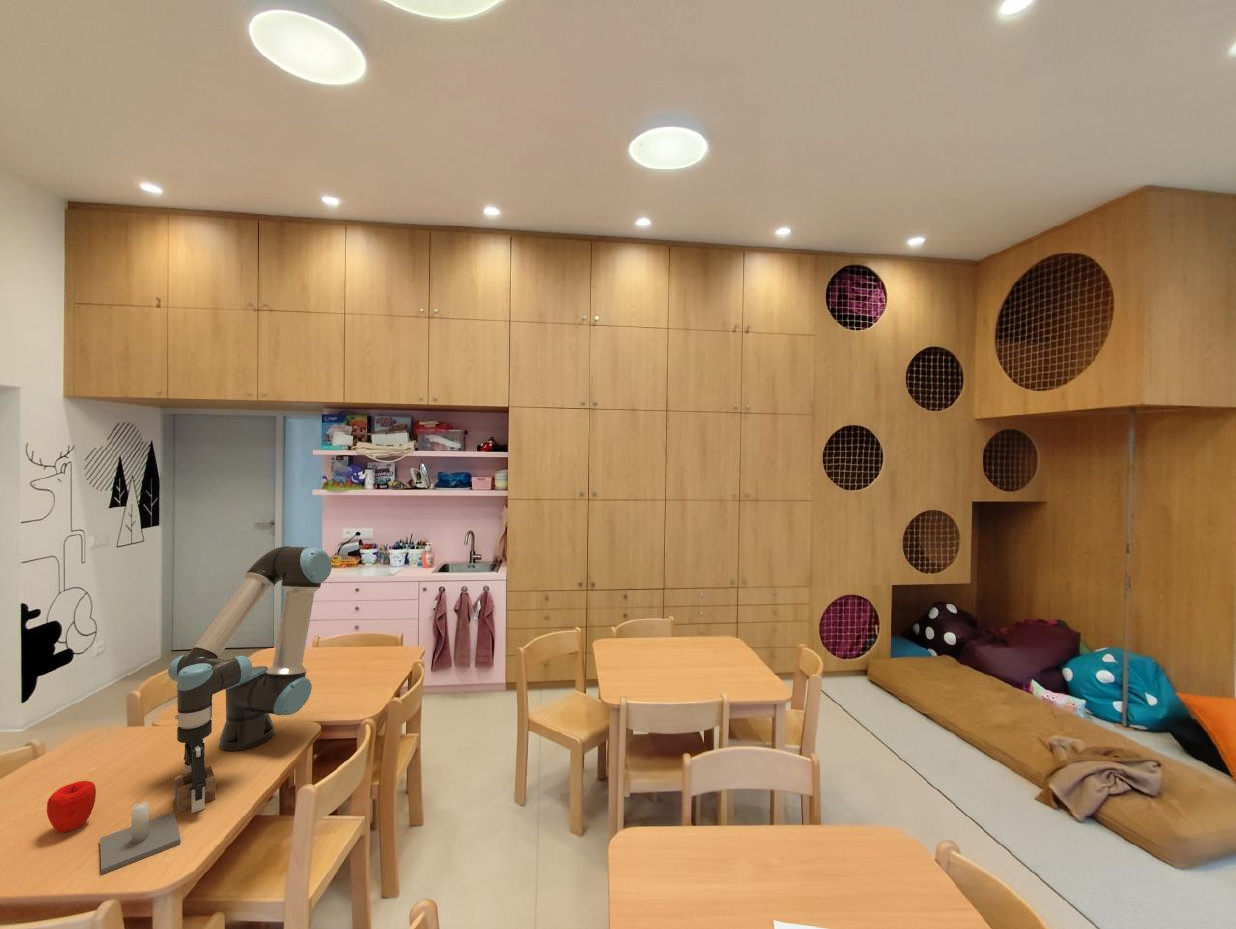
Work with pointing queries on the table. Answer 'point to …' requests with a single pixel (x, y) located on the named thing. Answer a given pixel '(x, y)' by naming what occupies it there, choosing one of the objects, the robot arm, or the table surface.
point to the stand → (138, 839)
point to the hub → (185, 796)
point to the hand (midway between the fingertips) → (194, 798)
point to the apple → (71, 805)
